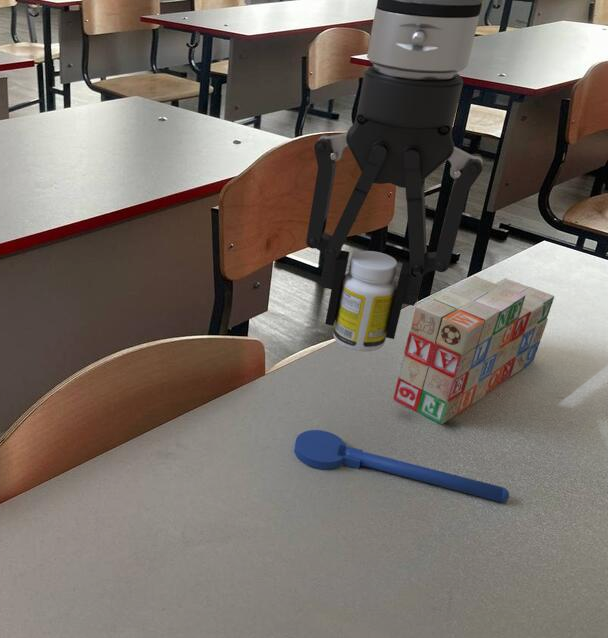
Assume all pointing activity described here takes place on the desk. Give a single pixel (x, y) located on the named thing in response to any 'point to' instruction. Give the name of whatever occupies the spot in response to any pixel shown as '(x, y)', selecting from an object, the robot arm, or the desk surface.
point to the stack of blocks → (469, 344)
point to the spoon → (383, 464)
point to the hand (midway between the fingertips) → (361, 324)
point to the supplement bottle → (366, 301)
